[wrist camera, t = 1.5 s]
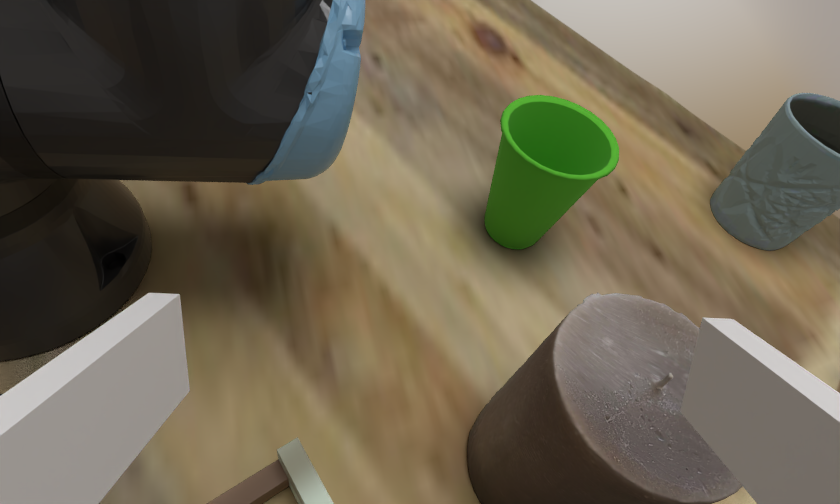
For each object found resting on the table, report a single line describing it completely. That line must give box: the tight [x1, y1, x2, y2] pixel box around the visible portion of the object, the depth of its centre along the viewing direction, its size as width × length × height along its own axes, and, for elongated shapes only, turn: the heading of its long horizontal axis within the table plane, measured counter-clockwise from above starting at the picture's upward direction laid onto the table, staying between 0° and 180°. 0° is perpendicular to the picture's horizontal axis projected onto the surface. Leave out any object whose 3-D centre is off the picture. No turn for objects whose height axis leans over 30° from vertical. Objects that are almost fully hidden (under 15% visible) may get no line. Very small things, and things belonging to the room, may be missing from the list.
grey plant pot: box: [710, 93, 840, 250], centre depth 47 cm, size 10×10×12 cm
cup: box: [484, 95, 619, 249], centre depth 40 cm, size 9×9×11 cm
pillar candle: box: [468, 293, 742, 504], centre depth 26 cm, size 10×10×15 cm
